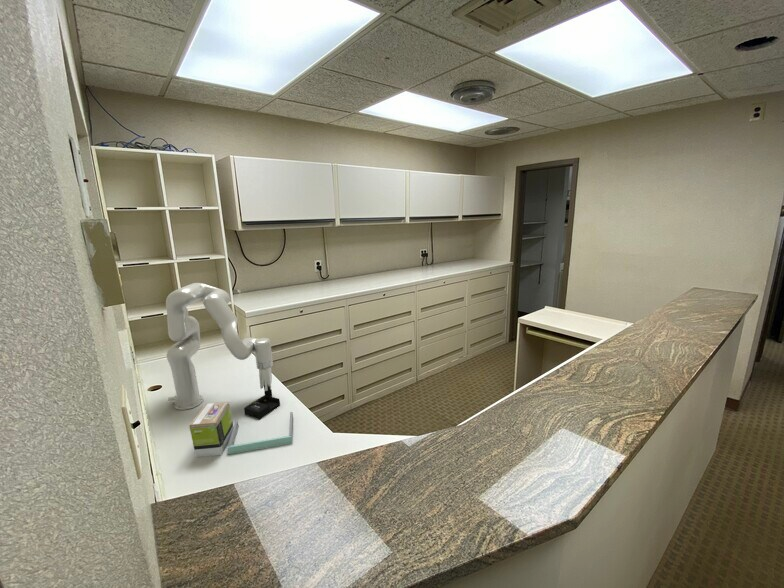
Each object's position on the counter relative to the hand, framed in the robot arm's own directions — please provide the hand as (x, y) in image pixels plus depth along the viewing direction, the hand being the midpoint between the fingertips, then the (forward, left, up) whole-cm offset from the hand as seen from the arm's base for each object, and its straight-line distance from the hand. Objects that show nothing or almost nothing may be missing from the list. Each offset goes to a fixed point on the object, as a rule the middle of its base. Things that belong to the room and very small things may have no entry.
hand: (268, 397), depth 176 cm
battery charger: (-2, -10, -2) cm, 10 cm away
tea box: (-18, -31, -1) cm, 36 cm away
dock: (0, -29, -1) cm, 29 cm away
